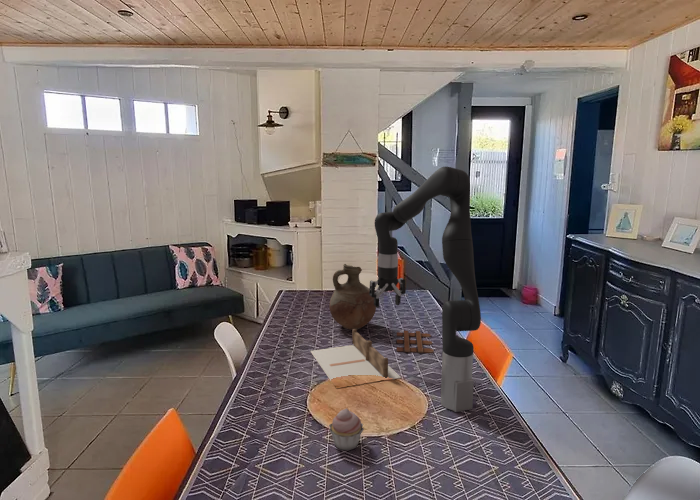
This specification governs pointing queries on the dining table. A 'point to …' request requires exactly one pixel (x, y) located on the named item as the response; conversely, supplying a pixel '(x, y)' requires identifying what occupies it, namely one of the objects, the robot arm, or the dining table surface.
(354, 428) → the cupcake
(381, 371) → the fence fixed
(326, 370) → the card
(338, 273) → the jug
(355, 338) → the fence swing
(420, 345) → the decorative fence
